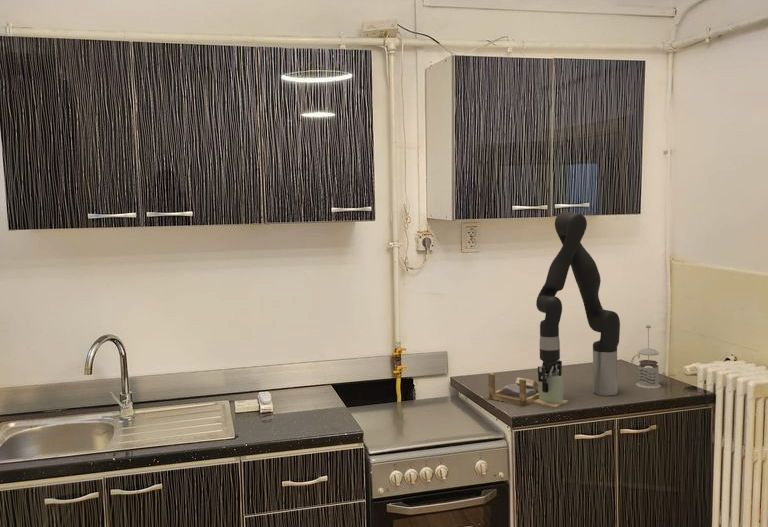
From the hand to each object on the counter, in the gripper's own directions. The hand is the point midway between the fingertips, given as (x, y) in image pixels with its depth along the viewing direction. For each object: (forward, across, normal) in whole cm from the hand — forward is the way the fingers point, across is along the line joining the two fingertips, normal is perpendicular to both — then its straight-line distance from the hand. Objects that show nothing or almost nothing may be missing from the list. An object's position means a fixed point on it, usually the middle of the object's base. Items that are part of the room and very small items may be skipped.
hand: (550, 390), depth 268 cm
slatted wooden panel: (+5, 0, 0) cm, 5 cm away
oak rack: (+5, -1, +14) cm, 14 cm away
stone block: (+5, +1, +14) cm, 15 cm away
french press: (+5, +44, -18) cm, 48 cm away
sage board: (+4, 0, 0) cm, 4 cm away
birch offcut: (+3, +7, +15) cm, 16 cm away
